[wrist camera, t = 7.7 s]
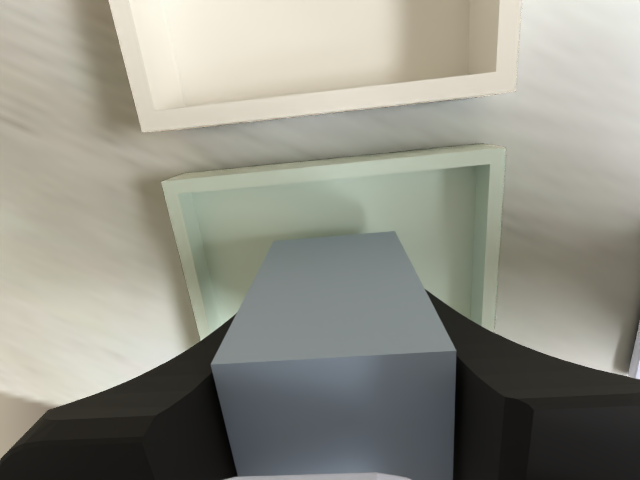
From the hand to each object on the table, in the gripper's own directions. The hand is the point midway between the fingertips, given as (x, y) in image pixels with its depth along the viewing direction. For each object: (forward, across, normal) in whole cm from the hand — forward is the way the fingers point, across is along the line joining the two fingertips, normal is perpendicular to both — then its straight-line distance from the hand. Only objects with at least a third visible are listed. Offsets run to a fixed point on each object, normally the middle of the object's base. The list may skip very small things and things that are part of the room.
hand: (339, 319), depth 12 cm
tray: (+4, 0, 0) cm, 4 cm away
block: (+2, 0, 0) cm, 2 cm away
